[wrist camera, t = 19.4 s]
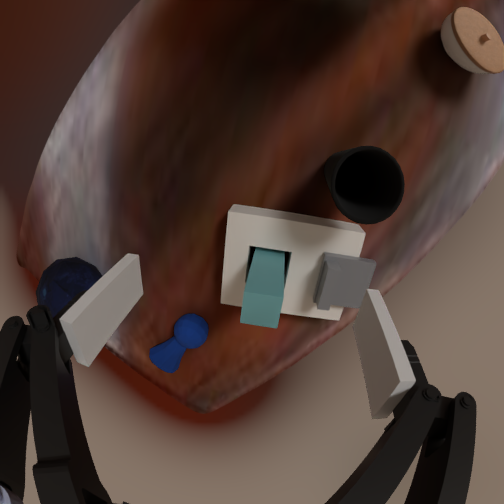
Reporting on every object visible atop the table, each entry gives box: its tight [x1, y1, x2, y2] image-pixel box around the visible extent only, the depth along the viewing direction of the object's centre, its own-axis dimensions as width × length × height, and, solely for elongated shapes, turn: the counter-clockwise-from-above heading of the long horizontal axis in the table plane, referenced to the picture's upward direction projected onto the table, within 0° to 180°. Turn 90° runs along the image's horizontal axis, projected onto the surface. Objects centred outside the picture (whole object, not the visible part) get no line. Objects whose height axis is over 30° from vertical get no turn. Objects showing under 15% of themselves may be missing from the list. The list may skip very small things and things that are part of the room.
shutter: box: [313, 252, 376, 311], centre depth 35 cm, size 7×7×4 cm
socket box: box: [221, 204, 366, 320], centre depth 39 cm, size 14×18×4 cm
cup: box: [324, 146, 405, 224], centre depth 29 cm, size 8×8×12 cm
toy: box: [149, 314, 209, 373], centre depth 47 cm, size 7×6×15 cm
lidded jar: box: [441, 7, 504, 74], centre depth 19 cm, size 11×11×9 cm
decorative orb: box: [36, 257, 102, 317], centre depth 41 cm, size 14×15×15 cm
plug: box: [240, 247, 285, 328], centre depth 34 cm, size 4×4×14 cm
